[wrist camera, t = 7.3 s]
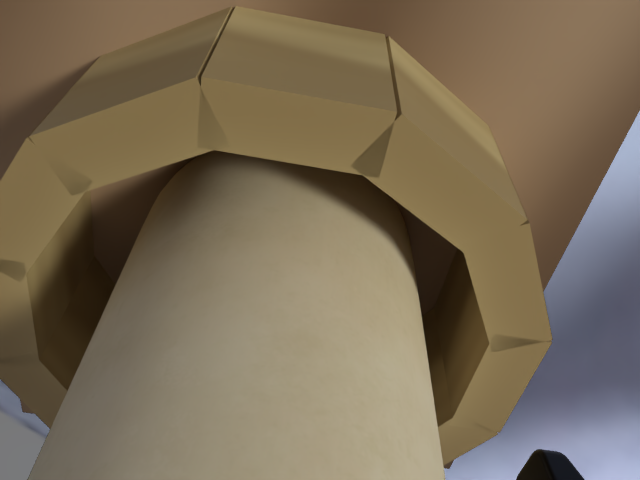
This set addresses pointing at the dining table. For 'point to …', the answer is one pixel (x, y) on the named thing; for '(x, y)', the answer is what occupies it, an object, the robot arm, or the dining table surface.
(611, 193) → the dining table surface
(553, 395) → the dining table surface
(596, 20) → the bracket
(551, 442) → the dining table surface
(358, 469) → the candle
